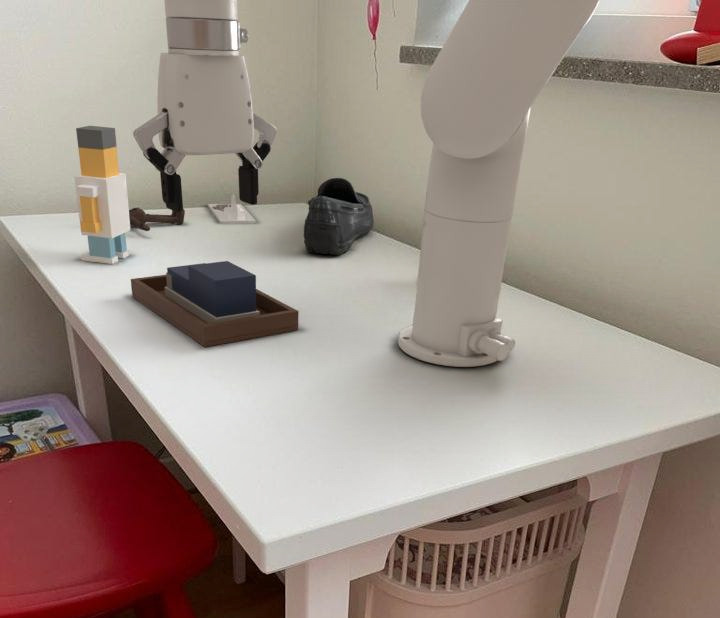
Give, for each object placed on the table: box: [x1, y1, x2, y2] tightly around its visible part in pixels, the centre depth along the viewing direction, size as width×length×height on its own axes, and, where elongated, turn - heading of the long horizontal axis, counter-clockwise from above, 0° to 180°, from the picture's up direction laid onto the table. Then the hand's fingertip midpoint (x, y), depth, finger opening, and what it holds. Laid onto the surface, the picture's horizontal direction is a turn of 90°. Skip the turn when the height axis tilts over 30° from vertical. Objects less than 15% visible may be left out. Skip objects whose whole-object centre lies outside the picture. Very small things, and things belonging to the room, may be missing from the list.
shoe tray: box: [130, 274, 300, 348], centre depth 97 cm, size 21×13×2 cm, turn 37°
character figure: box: [74, 125, 131, 265], centre depth 112 cm, size 8×10×18 cm
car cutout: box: [207, 193, 257, 225], centre depth 146 cm, size 15×7×4 cm, turn 18°
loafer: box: [303, 177, 375, 256], centre depth 134 cm, size 10×29×10 cm, turn 174°
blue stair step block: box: [165, 260, 260, 324], centre depth 96 cm, size 6×14×6 cm, turn 37°
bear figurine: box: [129, 207, 186, 232], centre depth 134 cm, size 18×4×14 cm
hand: (212, 206), depth 91 cm, fingers open, 9 cm apart
